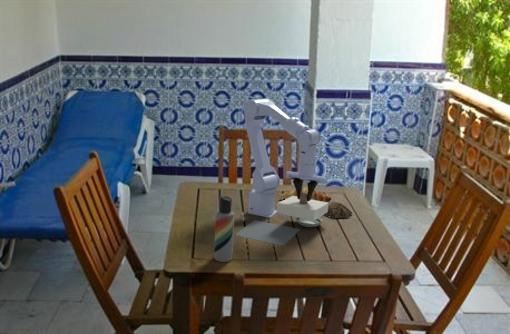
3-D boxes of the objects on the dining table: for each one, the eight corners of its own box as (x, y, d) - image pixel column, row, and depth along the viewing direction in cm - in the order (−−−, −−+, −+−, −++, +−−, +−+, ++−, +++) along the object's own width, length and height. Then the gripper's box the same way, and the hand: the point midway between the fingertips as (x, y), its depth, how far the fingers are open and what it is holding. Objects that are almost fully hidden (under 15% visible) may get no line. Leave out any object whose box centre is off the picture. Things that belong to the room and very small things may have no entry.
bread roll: (314, 210, 220) (315, 198, 219) (341, 207, 225) (342, 196, 224) (330, 221, 209) (331, 208, 208) (358, 218, 214) (359, 206, 212)
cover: (276, 212, 196) (278, 192, 194) (292, 204, 208) (294, 186, 207) (313, 220, 189) (316, 200, 188) (327, 212, 202) (329, 192, 201)
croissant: (279, 210, 228) (279, 196, 222) (280, 192, 235) (280, 179, 230) (330, 213, 226) (332, 199, 221) (330, 195, 234) (331, 182, 228)
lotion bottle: (213, 254, 173) (216, 194, 168) (231, 254, 174) (234, 194, 168) (213, 262, 168) (216, 200, 162) (232, 262, 168) (235, 200, 163)
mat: (234, 235, 189) (234, 234, 189) (254, 220, 204) (254, 220, 204) (283, 246, 182) (283, 245, 182) (300, 230, 197) (300, 229, 197)
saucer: (327, 226, 203) (327, 220, 202) (311, 232, 196) (311, 226, 195) (306, 219, 209) (306, 213, 209) (290, 225, 202) (290, 218, 202)
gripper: (283, 162, 194) (281, 198, 197) (323, 168, 188) (319, 206, 192) (290, 158, 200) (288, 193, 204) (329, 164, 195) (325, 200, 198)
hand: (304, 199), depth 198 cm, fingers closed on cover, 3 cm apart
